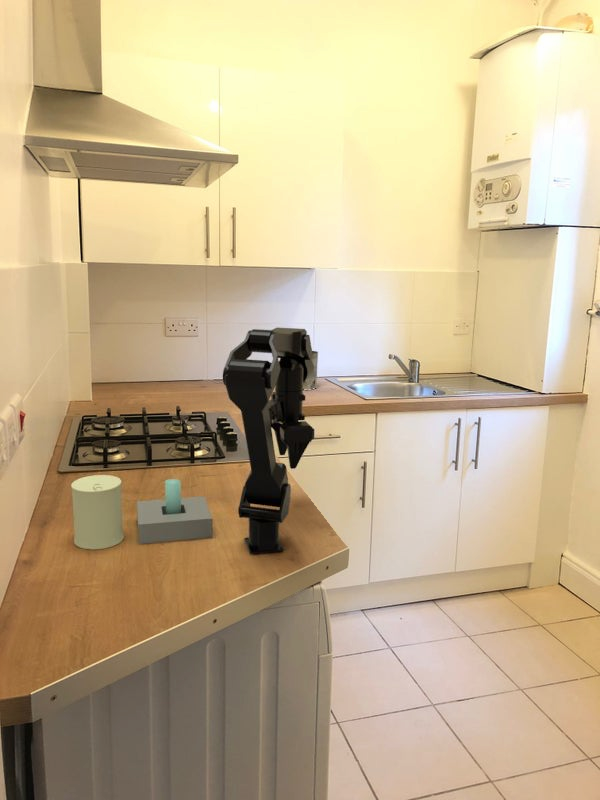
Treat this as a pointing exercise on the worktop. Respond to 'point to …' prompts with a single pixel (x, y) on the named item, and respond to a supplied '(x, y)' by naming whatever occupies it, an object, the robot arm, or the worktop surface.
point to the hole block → (173, 521)
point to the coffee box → (312, 381)
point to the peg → (173, 496)
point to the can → (97, 511)
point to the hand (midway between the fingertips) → (287, 461)
